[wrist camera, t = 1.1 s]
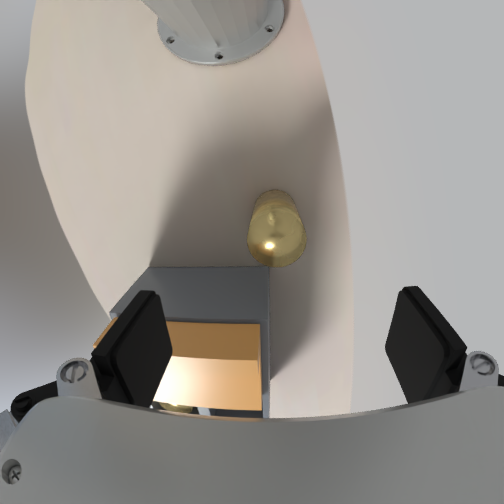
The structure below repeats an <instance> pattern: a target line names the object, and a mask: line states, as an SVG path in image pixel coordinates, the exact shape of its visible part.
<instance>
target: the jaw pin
mask: <svg viewBox="0 0 504 504" xmlns="http://www.w3.org/2000/svg"><path fill="white" fill-rule="evenodd" d="M306 240H307V239H306V232H305V229H304V226H303V224H302V221H301V219H300V216H299V214H298V211H297V209H296V207H295V204H294V202H293V200H292V198H291V197H290V196H289V195H288V194H286V193H285V192H283V191H280V190H270V191H267V192H265V193H263V194H262V195H260V196H259V198H258V199H257V201H256V203H255V206H254V210H253V214H252V218H251V222H250V226H249V230H248V234H247V245H248V248H249V251H250V253H251V254H252V256H253V257H254V258H255V259H256V260H257V261H258V262H260V263H262V264H264V265H266V266H269V267H284V266H287V265H290V264H292V263H293V262H295V261H296V260H297V259H298V258H299V257H300V256H301V255H302V253H303V251H304V249H305V246H306Z"/></svg>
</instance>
